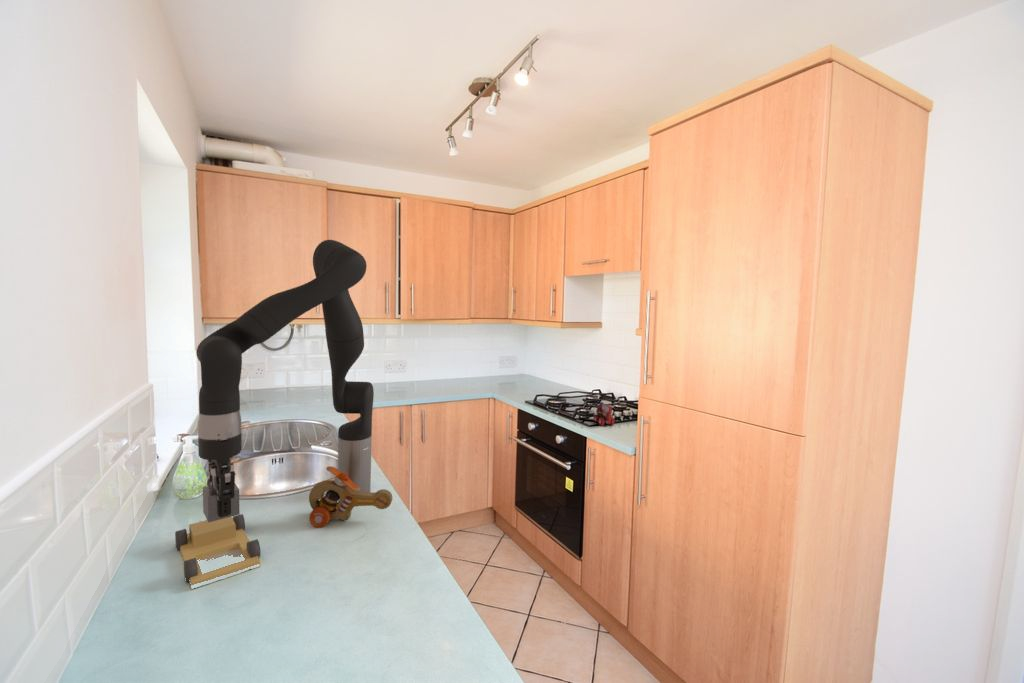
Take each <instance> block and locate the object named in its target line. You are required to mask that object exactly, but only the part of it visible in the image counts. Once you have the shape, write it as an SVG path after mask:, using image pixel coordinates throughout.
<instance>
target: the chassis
mask: <svg viewBox="0 0 1024 683" xmlns="http://www.w3.org/2000/svg"><path fill="white" fill-rule="evenodd" d="M188 527H189V528H188V529H189V530H188V531H189V532H187V529H186V528H183V529H180V530H176V531H175V532H174V534H175V539H174V540H175V547H176V548H177V549H176V550H177V551H178V550H179V551H180V555H182V556H181V558H183V559H182V562H183V561H184V562H183V572H184V579H185V578H186V581H188V580H190V583H191V585H194V584H197V583H201V582H204V581H208V580H211V579H214V578H216V577H220V576H223V575H227V574H230V573H233V572H237V571H239V570H243V569H245V568H248V567H251V566H254V565H257V564H260V565H261V559H260V558H261V546H260V541H259V539H257V538H256V539H252V540H250V539H249V538H248V535H247V533H246V532H245V531H246V523H245V517H244V514H243V513H241V514H239V515H236V516H232V517H228V518H224V519H220V520H216V521H213V522H209V523H208V521H207V519H206V520H202V521H199V522H195V523H190V524H188ZM241 554H242V555H243V557H244V558H245V560H244V561H241V562H238V563H234V564H231V565H228V566H225V567H222V568H219V569H216V570H213V571H210V572H207V573H204V574H202V572H201V569H200V566H199V564H198V561H197V560H199V559H200V560H205V559H207V560H206V561H208V560H210V559H212V558H214V559H216V558H219V557H222V556H224V555H225V556H226V555H228V556H231V555H233V557H238V556H239V557H241V556H240V555H241ZM200 560H199V561H200ZM212 560H213V559H212ZM186 581H185V582H186ZM188 582H189V581H188ZM190 583H189V584H190Z"/></svg>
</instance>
